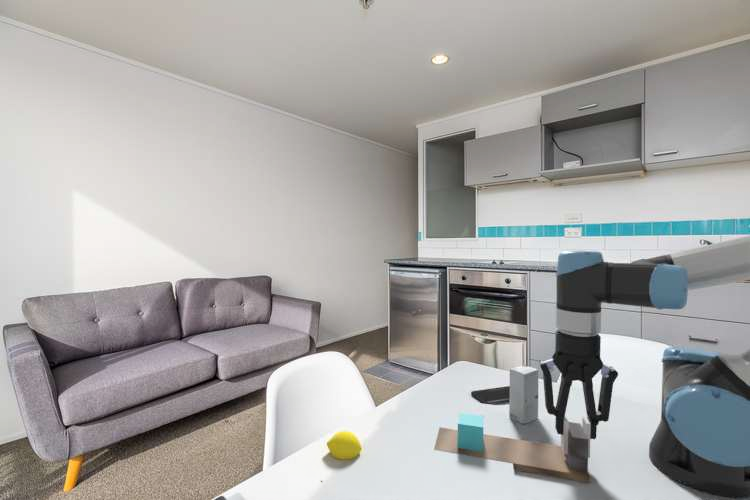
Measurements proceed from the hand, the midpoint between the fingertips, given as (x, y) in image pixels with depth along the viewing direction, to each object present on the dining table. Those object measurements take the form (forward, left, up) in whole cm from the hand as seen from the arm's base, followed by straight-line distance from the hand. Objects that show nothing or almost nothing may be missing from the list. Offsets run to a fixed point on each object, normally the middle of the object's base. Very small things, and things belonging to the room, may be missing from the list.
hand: (575, 451), depth 70 cm
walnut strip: (+13, 0, -3) cm, 13 cm away
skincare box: (+8, -18, -3) cm, 20 cm away
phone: (+13, -29, -4) cm, 32 cm away
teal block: (+20, 0, -2) cm, 20 cm away
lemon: (+44, +11, -3) cm, 45 cm away
